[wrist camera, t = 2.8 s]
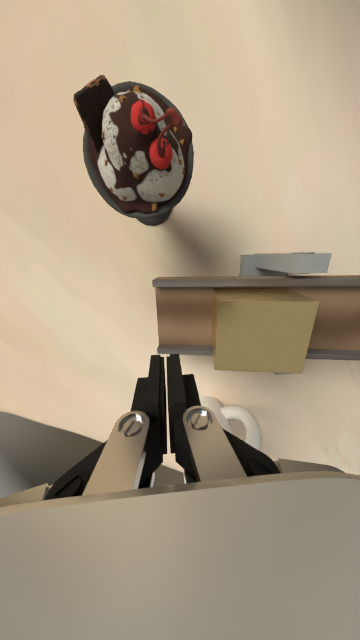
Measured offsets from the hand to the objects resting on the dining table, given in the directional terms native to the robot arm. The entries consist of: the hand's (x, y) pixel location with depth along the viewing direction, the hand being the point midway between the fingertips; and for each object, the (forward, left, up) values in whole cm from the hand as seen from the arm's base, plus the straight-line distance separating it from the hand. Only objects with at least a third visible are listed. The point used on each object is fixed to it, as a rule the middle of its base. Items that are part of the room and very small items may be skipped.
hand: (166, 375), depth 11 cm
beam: (-1, +14, -11) cm, 18 cm away
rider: (-1, +8, -8) cm, 12 cm away
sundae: (-13, -1, -15) cm, 20 cm away
